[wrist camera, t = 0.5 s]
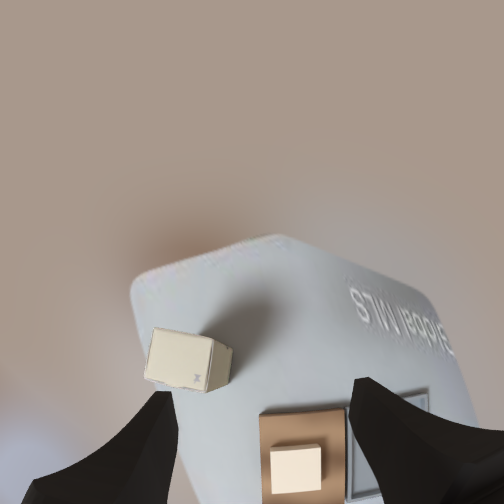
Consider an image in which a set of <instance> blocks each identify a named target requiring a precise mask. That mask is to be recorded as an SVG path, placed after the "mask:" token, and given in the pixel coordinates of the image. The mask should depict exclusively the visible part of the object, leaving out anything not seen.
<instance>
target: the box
mask: <svg viewBox="0 0 504 504" xmlns="http://www.w3.org/2000/svg"><path fill="white" fill-rule="evenodd" d="M232 354H233V349H232V348H230V347H228V346H226V345H224V344H222V343H220V342H218V341H216V340H214V339H212V338H209V337H205V336H200V335H195V334H190V333H185V332H180V331H175V330H169V329H163V328H157V327H154V328H153V332H152V337H151V341H150V345H149V350H148V355H147V360H146V367H145V372H144V378H145V379H146V380H149V381H152V382H155V383H159V384H162V385H166V386H170V387H175V388H179V389H184V390H189V391H194V392H200V393H207V392H210V391H213V390H215V389H218V388H220V387H223V386H225V385H228V380H229V375H230V368H231V362H232Z"/></svg>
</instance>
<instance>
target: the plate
mask: <svg viewBox="0 0 504 504" xmlns="http://www.w3.org/2000/svg"><path fill="white" fill-rule="evenodd" d="M259 428H260V453H261V478H262V504H344V500H345V419H344V409H342V408H334V409H325V410H316V411H305V412H293V413H278V414H259ZM316 443H318V445H319V446H320V447H321V490H314V491H304V492H293V493H280V494H272V490H271V464H270V447H282V446H296V445H307V444H316Z"/></svg>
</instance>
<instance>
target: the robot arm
mask: <svg viewBox="0 0 504 504" xmlns="http://www.w3.org/2000/svg"><path fill="white" fill-rule="evenodd" d="M348 418H349V421H350V425H351V428H352V431H353V434H354V436H355V438H356V440H357V442H358V444H359V446H360V448H361V450H362V452H363V454H364V456H365V458H366V460H367V462H368V464H369V466H370V468H371V470H372V472H373V474H374V476H375V478H376V480H377V483H378V486H379V489H380V492H381V494H382V497H383V500H384V504H504V431H500V430H488V429H481V428H475V427H470V426H466V425H462V424H459V423H455V422H452V421H449V420H446V419H443V418H441V417H438V416H436V415H433V414H431V413H429V412H426V411H424V410H422V409H420V408H419V407H417V406H415V405H413V404H411V403H409V402H408V401H406V400H404V399H402V398H401V397H399V396H398V395H396V394H394V393H393V392H391V391H390V390H388V389H387V388H385V387H384V386H382V385H381V384H379V383H377V382H376V381H374V380H373V379H371V378H369V377H365V378H359V379H355V380H354V386H353V392H352V398H351V403H350V408H349V414H348ZM178 430H179V429H178V424H177V419H176V414H175V409H174V404H173V398H172V393H171V391H156V392H155V393H154V394H153V395H152V396H151V397H150V398H149V400H148V401H147V402H146V403H145V405H144V406H143V407H142V408H141V409H140V411H139V412H138V413H137V414H136V415H135V416H134V417H133V418H132V419H131V421H130V422H129V423H128V424H127V425H126V426H125V427H124V428H123V429H122V430H121V431H120V432H119V433H118V434H117V435H116V436H114V437H113V438H112V439H111V440H110V441H109V442H107V443H106V444H105V445H104V446H102V447H101V448H100V449H98V450H97V451H95V452H94V453H92V454H91V455H89V456H87V457H86V458H84V459H83V460H81V461H79V462H78V463H75V464H73V465H71V466H70V467H67V468H65V469H63V470H60V471H58V472H56V473H53V474H50V475H47V476H44V477H41V478H38V479H34V480H33V481H32V483H31V485H30V486H29V489H28V490H27V492H26V494H25V497H24V499H23V501H22V503H21V504H167V499H168V492H169V487H170V482H171V477H172V472H173V467H174V463H175V458H176V453H177V445H178Z"/></svg>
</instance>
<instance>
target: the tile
mask: <svg viewBox="0 0 504 504" xmlns="http://www.w3.org/2000/svg"><path fill="white" fill-rule="evenodd" d="M270 464H271V490H272V494H280V493H293V492H304V491H314V490H321V447H320V446H319V445H318V443H316V444H307V445H296V446H282V447H270Z"/></svg>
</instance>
